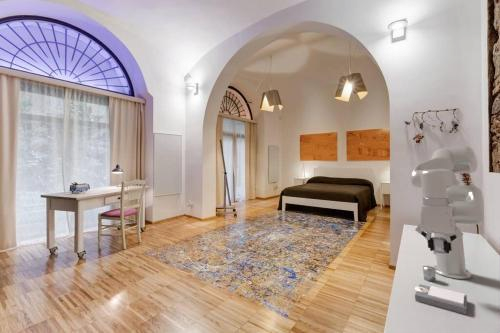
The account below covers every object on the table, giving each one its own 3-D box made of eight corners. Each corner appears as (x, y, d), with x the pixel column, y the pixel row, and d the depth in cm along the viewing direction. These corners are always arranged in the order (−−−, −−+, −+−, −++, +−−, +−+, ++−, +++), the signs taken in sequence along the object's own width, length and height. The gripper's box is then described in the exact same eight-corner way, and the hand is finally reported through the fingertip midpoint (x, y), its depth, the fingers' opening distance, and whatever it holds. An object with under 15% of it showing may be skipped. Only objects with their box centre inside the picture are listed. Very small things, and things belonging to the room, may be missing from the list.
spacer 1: (424, 276, 97) (423, 265, 97) (436, 279, 94) (435, 267, 95) (423, 280, 94) (422, 267, 95) (435, 282, 91) (434, 270, 92)
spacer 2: (433, 249, 88) (432, 236, 88) (447, 251, 85) (446, 237, 85) (432, 252, 85) (431, 238, 85) (446, 254, 82) (445, 240, 83)
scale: (417, 288, 87) (416, 281, 88) (467, 301, 78) (466, 293, 78) (412, 299, 80) (411, 291, 81) (466, 314, 71) (465, 305, 71)
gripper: (465, 202, 83) (470, 252, 82) (410, 200, 95) (414, 245, 94) (465, 204, 78) (470, 258, 77) (406, 202, 89) (410, 249, 89)
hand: (439, 250), depth 85 cm, fingers closed on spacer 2, 4 cm apart
